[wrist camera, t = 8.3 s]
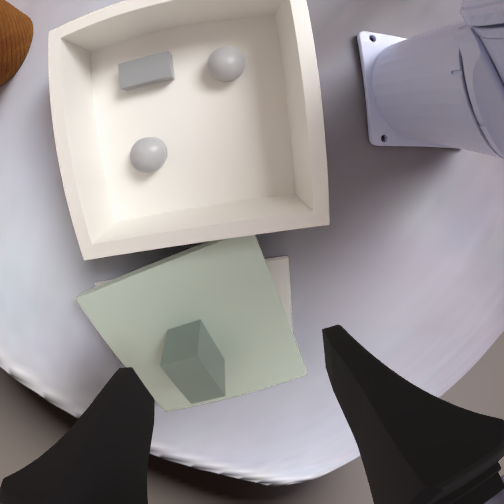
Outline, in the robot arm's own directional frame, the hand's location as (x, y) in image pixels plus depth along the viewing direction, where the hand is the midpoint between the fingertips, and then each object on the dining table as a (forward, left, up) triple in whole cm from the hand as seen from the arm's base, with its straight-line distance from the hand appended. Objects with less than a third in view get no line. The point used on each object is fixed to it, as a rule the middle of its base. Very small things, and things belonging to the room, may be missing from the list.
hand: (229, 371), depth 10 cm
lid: (+3, +6, -9) cm, 11 cm away
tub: (+1, -9, -10) cm, 14 cm away
